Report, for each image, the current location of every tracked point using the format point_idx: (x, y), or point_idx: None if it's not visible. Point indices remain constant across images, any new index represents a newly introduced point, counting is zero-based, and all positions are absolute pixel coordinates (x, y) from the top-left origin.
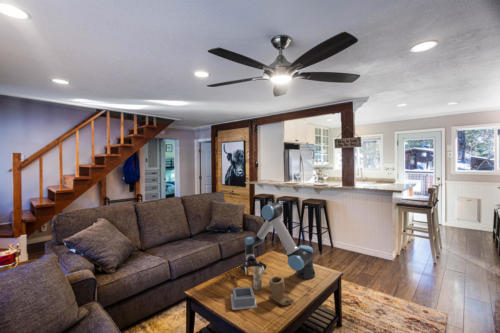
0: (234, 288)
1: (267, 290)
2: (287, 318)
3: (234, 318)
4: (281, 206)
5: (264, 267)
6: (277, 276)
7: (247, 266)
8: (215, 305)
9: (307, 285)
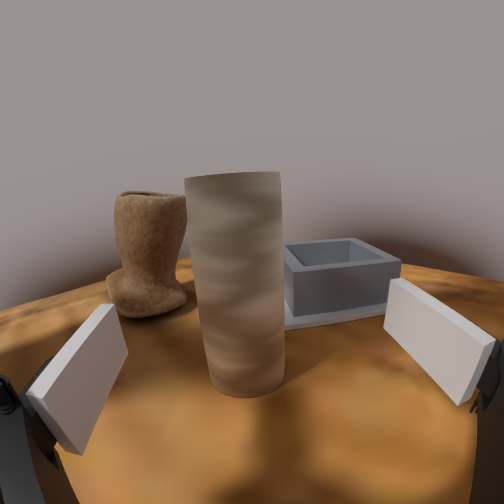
0: (392, 260)
1: (174, 350)
2: None
3: None
4: None
5: (31, 384)
6: (129, 195)
7: (496, 464)
8: (424, 272)
9: None
